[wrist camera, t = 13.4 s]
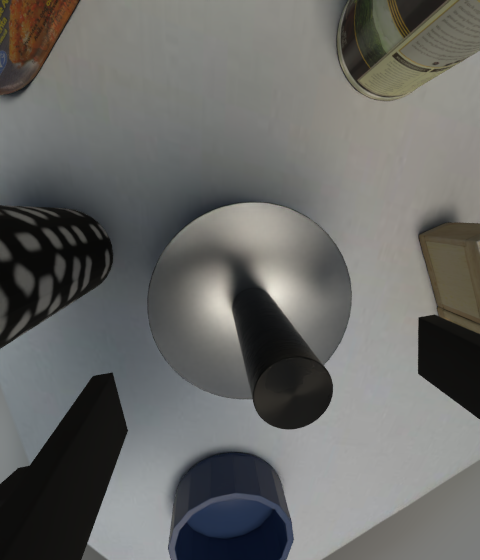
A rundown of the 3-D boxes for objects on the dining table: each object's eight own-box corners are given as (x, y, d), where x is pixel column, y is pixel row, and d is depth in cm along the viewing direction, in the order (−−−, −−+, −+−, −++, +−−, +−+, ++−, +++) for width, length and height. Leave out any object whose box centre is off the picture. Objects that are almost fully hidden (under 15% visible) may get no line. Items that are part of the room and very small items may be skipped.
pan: (185, 548, 38) (181, 602, 32) (165, 464, 35) (157, 509, 29) (286, 526, 39) (298, 575, 33) (275, 442, 36) (286, 482, 30)
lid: (171, 406, 22) (136, 581, 12) (130, 217, 19) (29, 222, 8) (349, 373, 24) (467, 507, 13) (339, 189, 20) (489, 160, 9)
